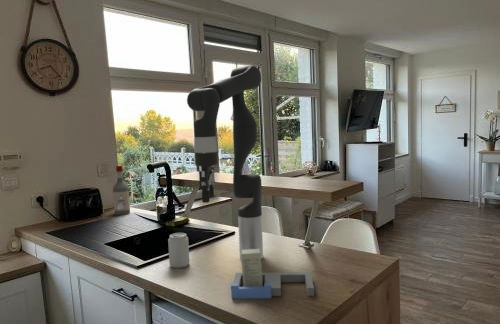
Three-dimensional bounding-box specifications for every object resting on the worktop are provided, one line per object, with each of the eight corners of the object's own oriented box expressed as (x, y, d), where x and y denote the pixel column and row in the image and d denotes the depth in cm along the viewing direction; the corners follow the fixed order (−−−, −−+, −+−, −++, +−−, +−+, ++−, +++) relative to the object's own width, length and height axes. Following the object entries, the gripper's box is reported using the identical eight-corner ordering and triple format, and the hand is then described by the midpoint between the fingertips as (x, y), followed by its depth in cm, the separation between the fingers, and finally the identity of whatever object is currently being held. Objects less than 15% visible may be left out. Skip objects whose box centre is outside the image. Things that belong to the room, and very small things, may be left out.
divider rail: (236, 280, 126) (235, 268, 126) (310, 279, 125) (310, 267, 124) (231, 298, 113) (231, 285, 112) (314, 298, 111) (314, 285, 111)
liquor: (130, 214, 230) (126, 166, 227) (114, 215, 227) (111, 167, 225) (130, 211, 239) (126, 164, 236) (114, 212, 236) (111, 165, 233)
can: (167, 263, 144) (166, 233, 142) (187, 260, 146) (185, 230, 145) (171, 270, 137) (169, 238, 136) (191, 266, 140) (190, 235, 138)
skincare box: (262, 284, 122) (261, 248, 121) (262, 290, 118) (261, 252, 117) (242, 285, 122) (241, 248, 121) (242, 291, 118) (241, 253, 116)
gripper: (199, 149, 129) (201, 195, 130) (189, 152, 115) (192, 204, 116) (220, 149, 128) (222, 195, 130) (213, 152, 114) (216, 204, 116)
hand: (208, 199), depth 123 cm, fingers open, 8 cm apart
